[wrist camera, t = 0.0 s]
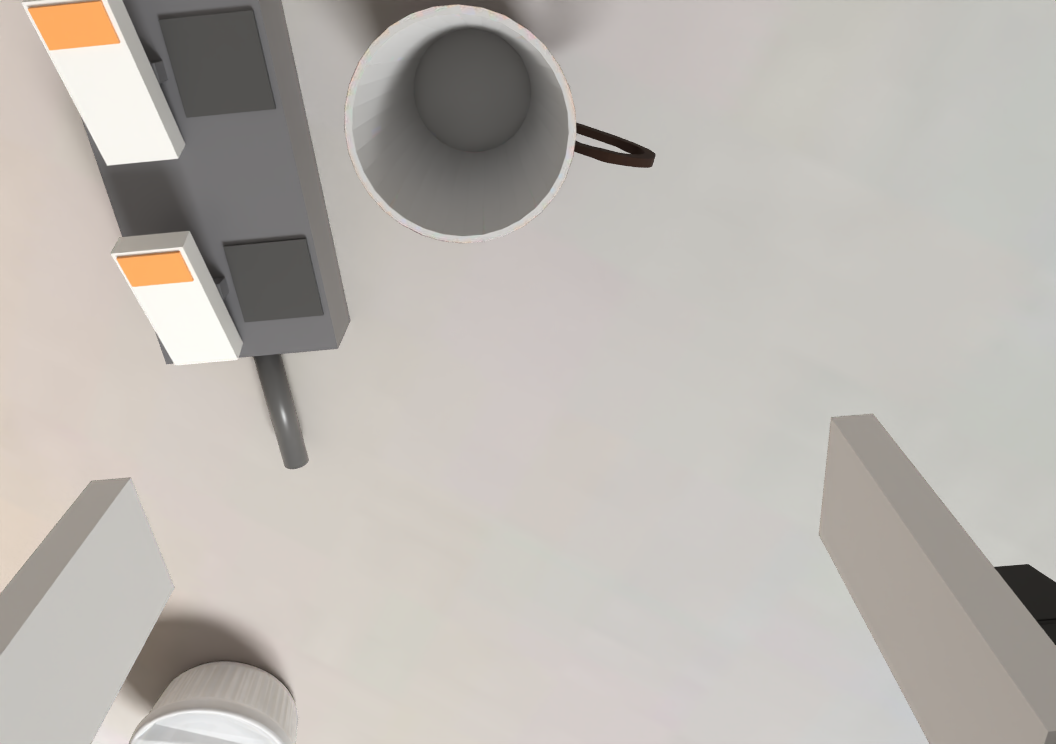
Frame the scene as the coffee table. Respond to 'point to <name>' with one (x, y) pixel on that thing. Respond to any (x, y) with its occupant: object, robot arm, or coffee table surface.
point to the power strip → (239, 184)
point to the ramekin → (221, 708)
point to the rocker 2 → (178, 296)
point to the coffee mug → (466, 124)
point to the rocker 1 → (108, 78)
